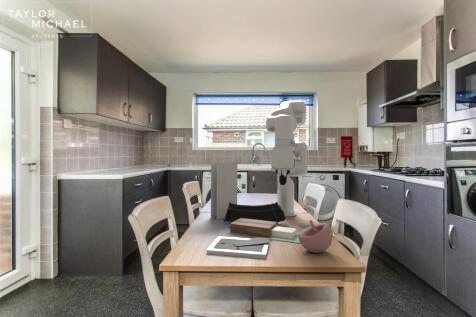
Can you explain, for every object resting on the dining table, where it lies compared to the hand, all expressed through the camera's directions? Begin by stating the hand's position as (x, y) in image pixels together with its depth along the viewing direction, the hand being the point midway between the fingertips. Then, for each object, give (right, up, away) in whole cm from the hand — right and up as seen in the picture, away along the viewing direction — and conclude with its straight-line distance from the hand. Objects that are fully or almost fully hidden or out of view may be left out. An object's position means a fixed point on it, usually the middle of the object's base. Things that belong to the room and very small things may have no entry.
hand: (282, 184), depth 125 cm
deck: (-13, -21, +1) cm, 25 cm away
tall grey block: (-28, -21, +30) cm, 46 cm away
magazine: (-12, -21, +16) cm, 29 cm away
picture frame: (-19, -23, -20) cm, 36 cm away
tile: (0, -21, -4) cm, 22 cm away
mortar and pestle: (+8, -22, -23) cm, 33 cm away
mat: (+2, -22, -5) cm, 22 cm away
